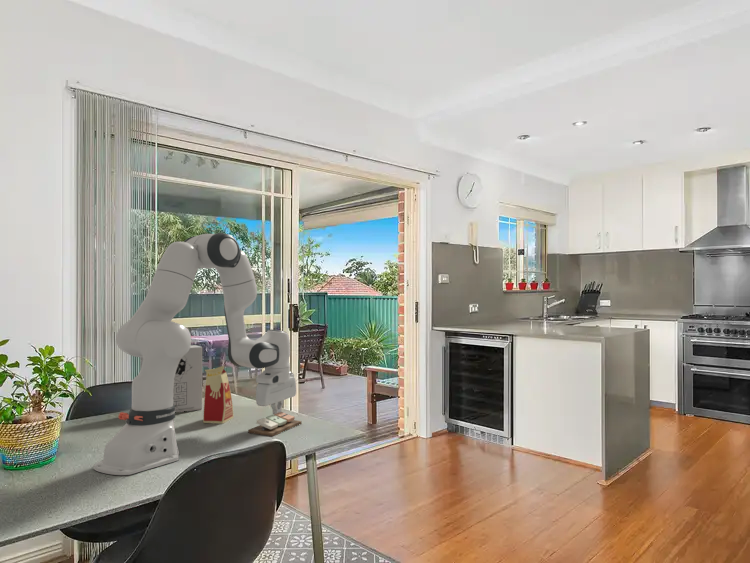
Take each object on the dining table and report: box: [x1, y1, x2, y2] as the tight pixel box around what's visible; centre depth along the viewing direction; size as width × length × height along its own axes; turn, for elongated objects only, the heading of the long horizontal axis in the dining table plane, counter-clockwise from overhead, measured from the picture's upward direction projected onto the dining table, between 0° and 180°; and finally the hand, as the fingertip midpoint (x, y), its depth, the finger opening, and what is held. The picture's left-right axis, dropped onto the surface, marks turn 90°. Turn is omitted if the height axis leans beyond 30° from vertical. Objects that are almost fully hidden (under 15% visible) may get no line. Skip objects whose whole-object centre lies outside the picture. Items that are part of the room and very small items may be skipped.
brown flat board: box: [247, 419, 302, 437], centre depth 179 cm, size 17×10×2 cm, turn 155°
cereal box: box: [139, 344, 203, 413], centre depth 204 cm, size 22×8×25 cm, turn 124°
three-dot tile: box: [273, 411, 295, 422], centre depth 184 cm, size 4×6×1 cm, turn 65°
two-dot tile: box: [265, 414, 287, 426], centre depth 179 cm, size 4×6×1 cm, turn 65°
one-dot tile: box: [255, 417, 278, 430], centre depth 175 cm, size 4×6×1 cm, turn 65°
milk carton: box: [202, 365, 234, 425], centre depth 190 cm, size 9×9×20 cm
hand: (277, 413), depth 185 cm, fingers closed, pressing on three-dot tile
